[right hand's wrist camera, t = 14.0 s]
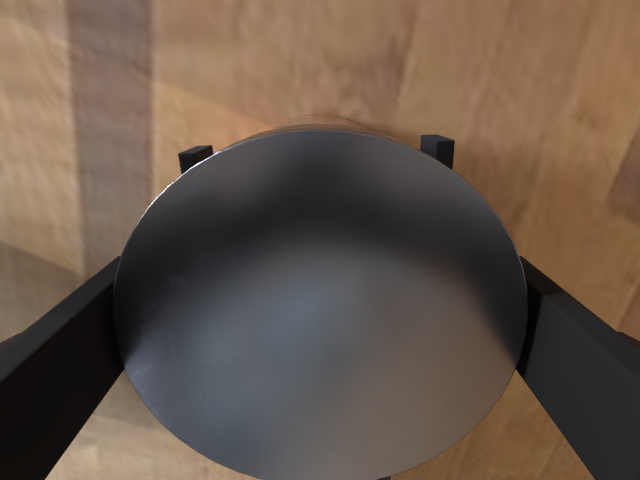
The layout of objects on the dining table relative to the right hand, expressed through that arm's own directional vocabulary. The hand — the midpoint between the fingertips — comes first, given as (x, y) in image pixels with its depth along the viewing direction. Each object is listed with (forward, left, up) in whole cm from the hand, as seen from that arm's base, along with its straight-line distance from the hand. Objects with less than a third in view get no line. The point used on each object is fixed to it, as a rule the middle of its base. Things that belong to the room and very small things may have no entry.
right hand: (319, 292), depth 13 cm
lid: (0, 0, +2) cm, 2 cm away
